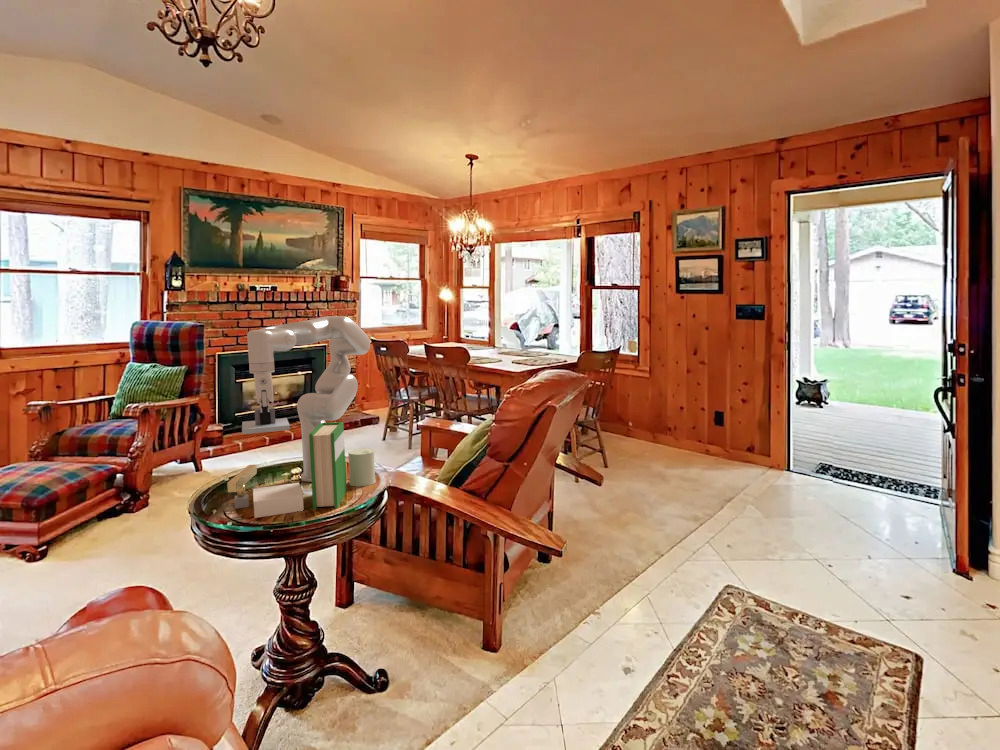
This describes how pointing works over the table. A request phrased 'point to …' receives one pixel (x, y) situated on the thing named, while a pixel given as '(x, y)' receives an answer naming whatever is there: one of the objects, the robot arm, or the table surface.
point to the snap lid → (256, 427)
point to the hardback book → (328, 464)
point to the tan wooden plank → (241, 480)
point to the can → (361, 467)
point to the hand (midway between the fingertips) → (265, 422)
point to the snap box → (274, 500)
